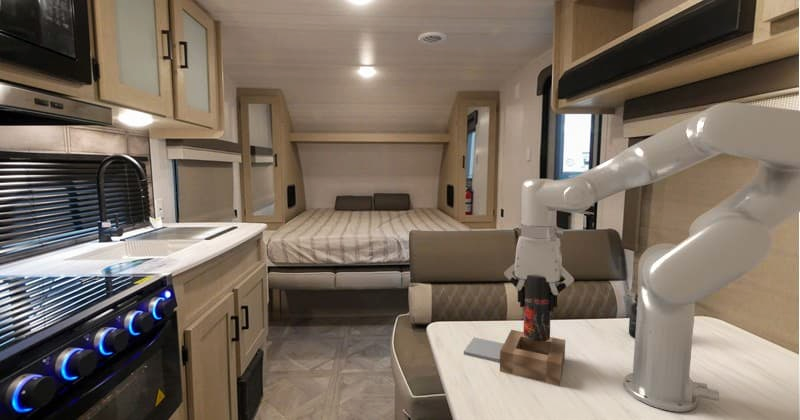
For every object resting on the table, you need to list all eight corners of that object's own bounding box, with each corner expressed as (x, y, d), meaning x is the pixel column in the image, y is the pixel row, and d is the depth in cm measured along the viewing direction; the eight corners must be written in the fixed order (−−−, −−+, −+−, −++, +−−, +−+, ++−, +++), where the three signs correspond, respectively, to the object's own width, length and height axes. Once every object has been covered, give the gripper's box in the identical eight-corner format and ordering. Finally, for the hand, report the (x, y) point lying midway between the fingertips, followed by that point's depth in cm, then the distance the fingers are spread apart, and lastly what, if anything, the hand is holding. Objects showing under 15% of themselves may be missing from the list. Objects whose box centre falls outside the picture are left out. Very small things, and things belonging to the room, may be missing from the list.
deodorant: (554, 341, 86) (555, 277, 84) (528, 341, 86) (529, 278, 84) (544, 330, 92) (545, 270, 90) (520, 330, 92) (521, 271, 90)
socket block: (564, 359, 92) (565, 339, 92) (560, 386, 81) (561, 364, 80) (510, 347, 98) (511, 329, 98) (499, 371, 87) (500, 350, 86)
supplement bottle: (662, 343, 100) (665, 300, 99) (634, 341, 102) (637, 298, 100) (650, 332, 107) (653, 292, 106) (624, 330, 108) (627, 290, 107)
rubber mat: (507, 347, 99) (507, 344, 99) (499, 362, 91) (499, 359, 91) (473, 340, 103) (473, 337, 103) (463, 354, 95) (463, 351, 95)
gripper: (580, 232, 86) (578, 307, 87) (504, 228, 94) (503, 297, 95) (579, 237, 79) (576, 319, 81) (497, 232, 87) (496, 307, 89)
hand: (537, 306), depth 88 cm, fingers closed on deodorant, 6 cm apart
